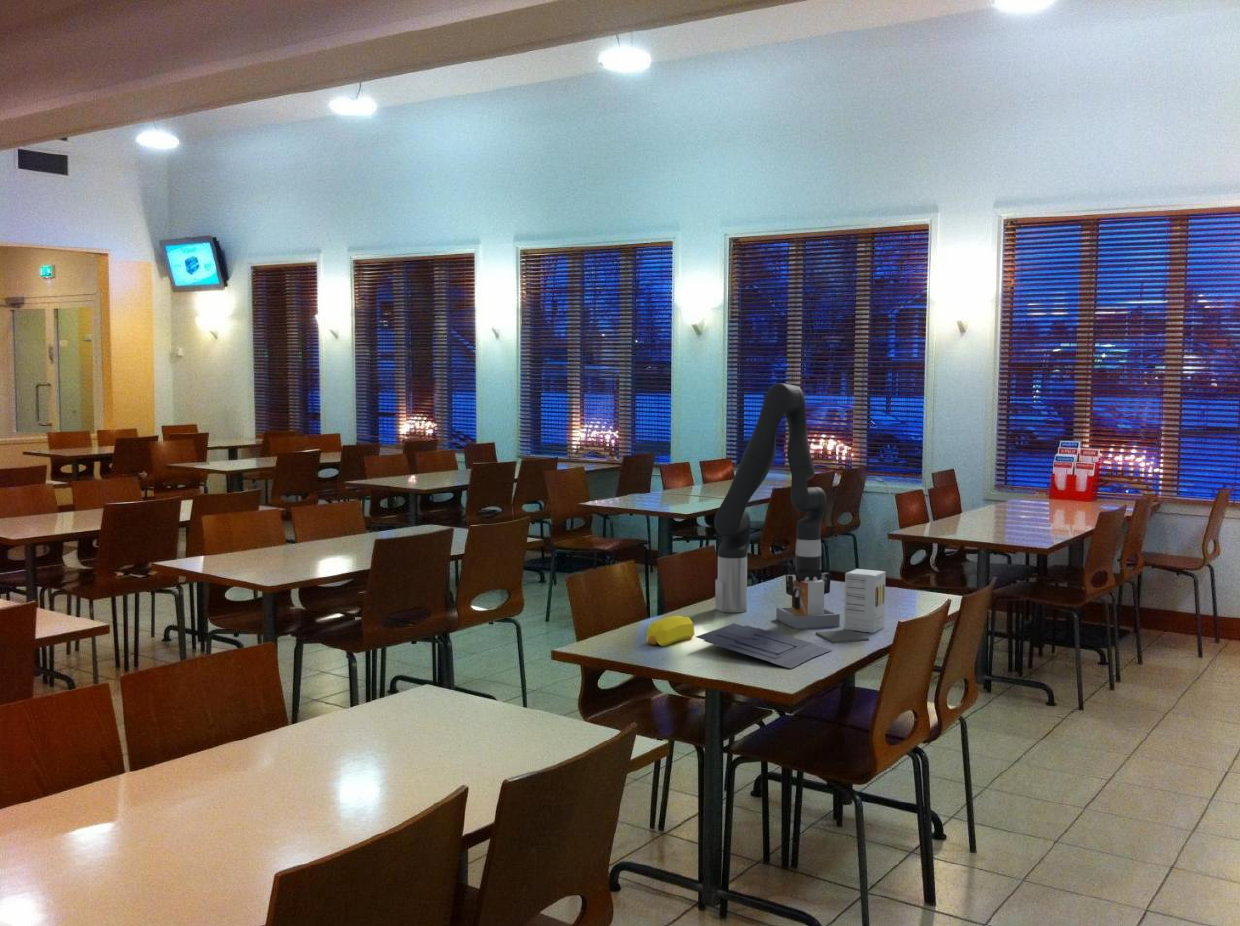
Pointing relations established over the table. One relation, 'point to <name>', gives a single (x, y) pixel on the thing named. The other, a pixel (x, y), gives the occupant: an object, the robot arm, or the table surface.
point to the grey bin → (807, 619)
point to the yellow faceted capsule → (670, 630)
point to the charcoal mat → (842, 636)
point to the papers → (764, 644)
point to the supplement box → (864, 600)
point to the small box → (810, 598)
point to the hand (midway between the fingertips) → (807, 608)
